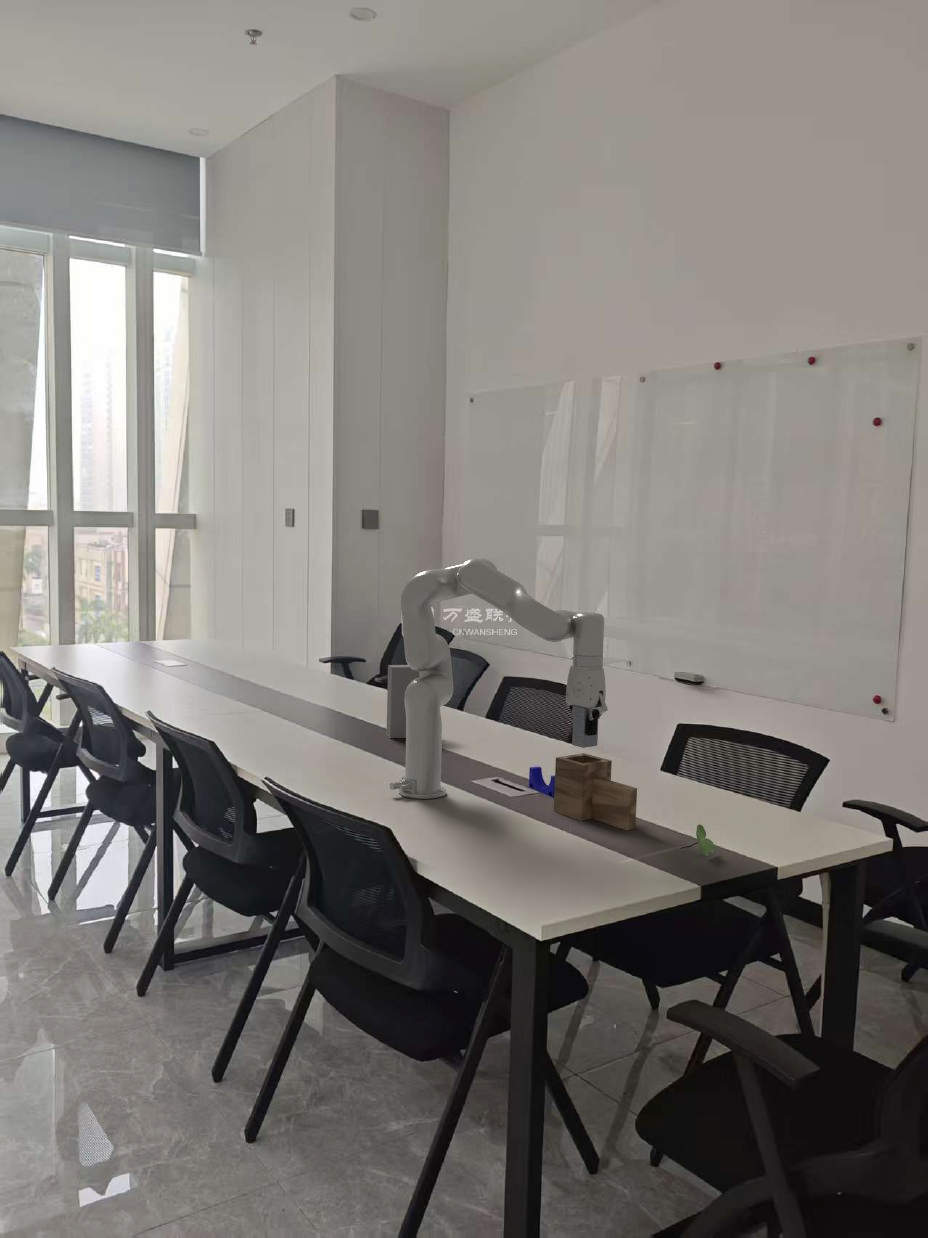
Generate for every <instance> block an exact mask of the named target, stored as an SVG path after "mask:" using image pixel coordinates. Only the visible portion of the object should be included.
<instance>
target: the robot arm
mask: <svg viewBox="0 0 928 1238" xmlns="http://www.w3.org/2000/svg"><path fill="white" fill-rule="evenodd" d="M400 595H401V596H400V611H401V620H402V633H403V634H402V637H403V646H404V657H405V662H406V663H407V664H406V665H408V666H409V667H410V668H411V669H413V670H415V671H419V675H420V677H418V678H416V679H414V680H413V681H412V682H411V683H410V684H409V685H408V687H407V689H406V692H405V710H406V739H405V770H404V772H405V773H404V776H401V779H400V780H399V781H394V782H392V781H391V782H390V783H389V789H390V790H391V791H394V790H395V791H396V790H398V792H399V794H400V795H401V796H402V797H406V798H409V799H411V798H412V799H423V800H424V799H425V800H428V799H429V800H430V799H438V798H442V797H444V796H445V795H446V794H447V789H446V787H444V786H442V783H441V782H442V781H441V777H442V748H443V747H442V746H443V745H442V744H443V743H442V740H443V724H442V715H441V714H442V713H441V707H443V706H445V705H447V703H449V702H450V700H451V698H452V697H453V694H454V679H453V677H454V676H453V668H452V667H453V666H452V656H451V649H450V646H449V644H448V641H447V640H446V639H445V638H444V637H443V636H442V635H440V634H438V633H437V632H436V625H435V617H434V613H433V610H432V605H433V604H434V603H435V602H443V601H448V600H452V599H456V598H460V597H464V596H469V595H475V596H476V597H478V598H479V599H481V600H482V601H484V602H486V603H488V604H490V605H491V606H493V607H495V608H496V609H498V610H500V611H501V612H503V613H504V614H505V615H507V616H508V618H510V619H512V620H513V621H514V622H516V624H518V625H519V626H520V627H522V628H524V629H525V630H527V631H528V632H530V633H532V634H534V635H536V636H537V637H539V638H541V639H543V640H545V641H547V642H550V643H558V642H561V641H564V640H568V639H573V643H572V644H573V646H572V648H573V649H572V655H571V660H572V665H570V666H569V669H568V670H569V671H568V674H567V679H566V680H567V682H566V688H565V689H566V690H565V691H566V692H565V705H567V706H568V708H569V709H570V712H571V715H572V717H573V707H574V706H572V705H577V706H581V707H585V708H588V715H589V720H587V735H588V736H591V735H596V734H597V722H598V723H599V719H600V718H601V716H602V715H603V714H604V713H606V712H607V711H608V710H609V709H608V706H607V703H606V692H607V691H606V690H607V689H606V687H607V686H606V675H605V669H604V668H603V667H604V666H603V664H604V639H605V638H604V637H605V636H604V635H605V618H604V617H605V616H604V615H603V614H601V613H598V612H575V611H571V610H566V609H565V610H563V609H559V610H555V611H554V610H552V609H550V608H549V607H548V606H545V605H544V604H542V603H541V602H539V601H537V600H536V599H534V598H533V597H532V596H531V595H529V593H528V592H527V590H526V588H525V586H524V585H523V584H521V583H520V582H519V581H517V580H515V579H513V578H512V577H510V576H508V575H506V574H505V573H503V572H501V571H499V570H498V569H497V566H496V564H494V563H493V562H492V561H491V560H489V559H486V558H471V559H468V560H466V561H465V562H464V563H462V564H457V565H453V566H450V567H446V568H439V569H437V568H436V569H428V570H423V571H421V572H419V573H417V574H415V575H414V576H412V578H409V580H408V581H407V582H406V583H405V585H404V586H403V589H402V591H401V594H400ZM593 710H594V713H593Z"/></svg>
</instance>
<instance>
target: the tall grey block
mask: <svg viewBox="0 0 928 1238" xmlns="http://www.w3.org/2000/svg"><path fill="white" fill-rule="evenodd" d="M418 677H420V675H419V671H415V670H413V669H411V668H410V667H409V666H408V664H392V665H391V664H388V665H387V693H386V694H387V696H386V698H387V699H386V731H385V732H386V734H385V736H386V735H387V736H389V738H406V710H405V692H406V689H407V687H408V685H409V684H410V683H411V682H412V681H413V680H414V679H416V678H418ZM387 736H386V737H387ZM389 738H388V739H389Z"/></svg>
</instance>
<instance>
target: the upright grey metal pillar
mask: <svg viewBox="0 0 928 1238" xmlns="http://www.w3.org/2000/svg"><path fill="white" fill-rule="evenodd" d="M572 706H574V707H573V716H572V737H571V738H572V739H571V740H572V741H571V746H575V747H578V748H582V749H585V748H592V747H598V739H599V737H598V736H599V730H598V729H599V721H598V722H597V734H596V735H591V736H588V735H587V720H589V715H588V708H585V707H581V706H577V705H572ZM593 713H594V710H593Z"/></svg>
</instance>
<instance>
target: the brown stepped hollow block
mask: <svg viewBox="0 0 928 1238" xmlns="http://www.w3.org/2000/svg"><path fill="white" fill-rule="evenodd" d="M612 761H613V760H611V759H606V758H604V757H599V756H596V755H592V754H588V753H585V752H583V753H576V754H570V755H569V754H568V755H564V756H556V757H555V768H554V769H555V770H554V775H555V790H554V798H553V812H555V813H556V814H557V813H558V814H560V815H564V816H566V817H569V818H572V819H575V820H578V821H581V822H582V821H587V820H595V821H597V822H600V823H603V824H606V825H609V826H611V827H614V828H619V829H621V830H624V831H630V830H635V829H636V824H637V803H638V802H637V799H638V788H637V787H634V786H632V785H631V786H630V785H628V784H623V783H620V782H617V781H613V780H612Z"/></svg>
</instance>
